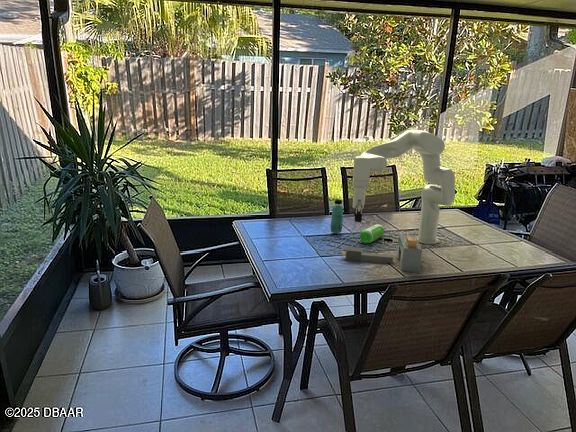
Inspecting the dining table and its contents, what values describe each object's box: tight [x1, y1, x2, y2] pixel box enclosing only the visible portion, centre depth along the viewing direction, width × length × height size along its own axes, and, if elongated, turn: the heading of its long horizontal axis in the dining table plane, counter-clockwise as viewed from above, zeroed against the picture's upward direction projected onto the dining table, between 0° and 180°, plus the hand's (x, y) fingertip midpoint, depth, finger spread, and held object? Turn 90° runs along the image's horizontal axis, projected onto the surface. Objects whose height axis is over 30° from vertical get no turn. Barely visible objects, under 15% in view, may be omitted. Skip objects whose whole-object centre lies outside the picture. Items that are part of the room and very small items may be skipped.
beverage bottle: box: [330, 198, 344, 234], centre depth 237 cm, size 6×7×20 cm
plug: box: [341, 246, 394, 264], centre depth 202 cm, size 5×24×5 cm, turn 81°
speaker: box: [359, 223, 385, 244], centre depth 231 cm, size 18×7×8 cm, turn 143°
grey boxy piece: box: [396, 234, 423, 273], centre depth 199 cm, size 20×8×14 cm, turn 172°
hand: (357, 218), depth 198 cm, fingers open, 9 cm apart
